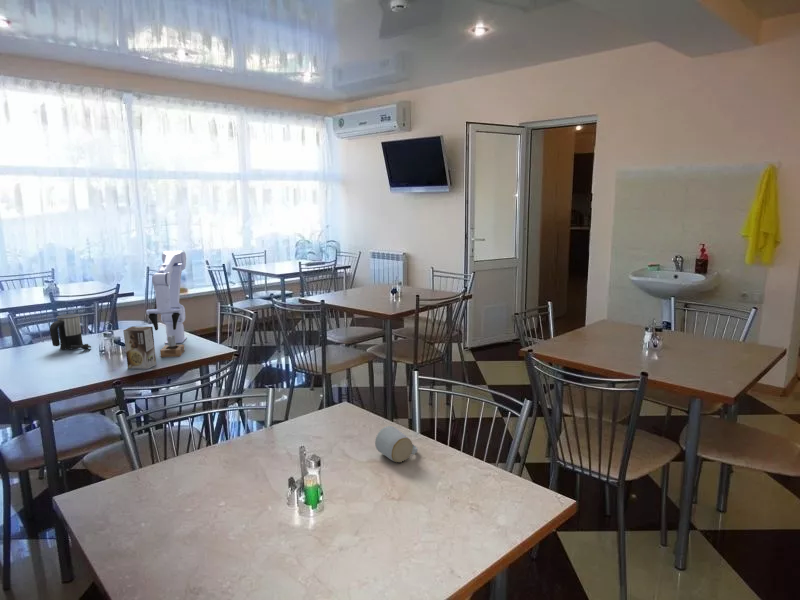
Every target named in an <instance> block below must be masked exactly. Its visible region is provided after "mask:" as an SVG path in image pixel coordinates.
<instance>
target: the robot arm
mask: <svg viewBox="0 0 800 600" xmlns="http://www.w3.org/2000/svg"><path fill="white" fill-rule="evenodd" d="M161 261H162V264H160V265H159V267H158V269H157V272H155V273H154V274H152V276H151V282H152V286H153V290H154V291H155V294H154V295H155V303H156V308H152V309H146V311H145V312H146V313H145V314H146V315H147V316H148V319H149V320H150V321H151V323H152V325H153V329H154V331H158V330H159V325H158V324H159V323H158V315H160V320H161V322H162V323H163V324H164V325H165V331H166V332H165V333H166V340H165V341H164V345H168V336H172V335H173V336H175V343H176V344H182V343H184V342H185V340H186V339H187V338H188V337H187V336H185V327H184V326H185V325H184V324H183V323H184V322H185V321H186V308H185V306H184V305H183V304H181V303H180V295H181V281H182V280H181V279H182V273H183V271H184V270H185V269H186V266H187V255H186V252H185V251H184V250H163V251H162V253H161Z"/></svg>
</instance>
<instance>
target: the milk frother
mask: <svg viewBox="0 0 800 600" xmlns="http://www.w3.org/2000/svg"><path fill="white" fill-rule="evenodd" d="M80 316H81V314H79V313H67V314H60V315H58V316H56V318H57V320H56V321H53V322H52V323H51V324H50V326H49V332H50V333H49V334H50V338H51V339H50V340H51V343H52V346H53V347H59V346H60V347H59V348H60V349H61V350H72V349H73V350H75V349H82V350H84V351H86V350H88V349H90V348H92V345H89V344H88V343H84V342H83V336H82V328H81V319H80Z"/></svg>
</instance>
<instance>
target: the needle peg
mask: <svg viewBox="0 0 800 600" xmlns="http://www.w3.org/2000/svg"><path fill="white" fill-rule="evenodd" d="M167 345H168V348H169V349H176V345H177V343H175V336H173V335H172V336H168V344H167Z"/></svg>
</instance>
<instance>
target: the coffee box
mask: <svg viewBox="0 0 800 600" xmlns="http://www.w3.org/2000/svg"><path fill="white" fill-rule="evenodd" d="M153 329H154V326H137V325H136V326H135V325H134V326H130V327H128V328H126V329H123V330H122V331H123V338H124V339H123V340H124V347H125V355H126V364H127V369H141V370H143V369H146V370H147V369H151V368H152V367H154V366H156V365H157V360H156V348H155V340H154V339H155V338H154V331H153Z"/></svg>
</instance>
